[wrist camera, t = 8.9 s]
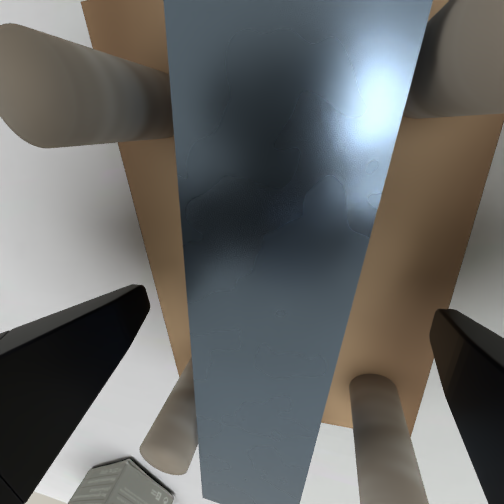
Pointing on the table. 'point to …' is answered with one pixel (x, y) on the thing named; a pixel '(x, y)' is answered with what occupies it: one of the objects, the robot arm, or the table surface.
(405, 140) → the peg rack
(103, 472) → the skincare box
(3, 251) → the table surface
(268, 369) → the steel bar
